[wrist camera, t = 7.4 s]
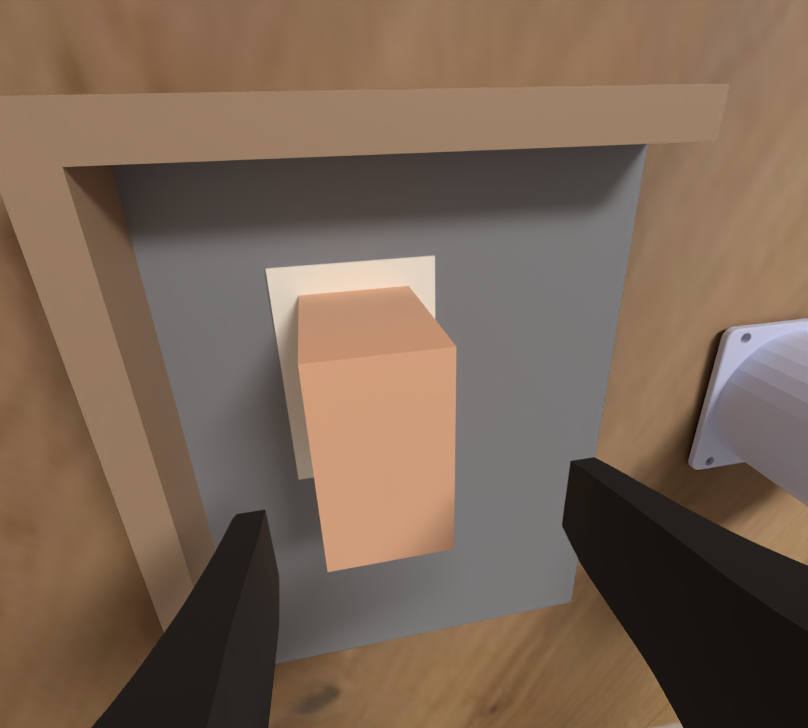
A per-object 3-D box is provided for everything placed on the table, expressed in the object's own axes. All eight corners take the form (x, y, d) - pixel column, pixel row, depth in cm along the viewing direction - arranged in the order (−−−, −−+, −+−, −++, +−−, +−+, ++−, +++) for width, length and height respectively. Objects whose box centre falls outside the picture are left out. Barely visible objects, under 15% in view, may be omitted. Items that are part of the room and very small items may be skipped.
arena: (640, 96, 17) (730, 83, 14) (564, 590, 28) (602, 655, 24) (50, 109, 14) (-36, 96, 10) (219, 661, 25) (206, 747, 21)
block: (413, 443, 20) (453, 549, 15) (320, 457, 20) (327, 572, 14) (408, 285, 17) (456, 346, 12) (298, 295, 17) (298, 364, 11)
